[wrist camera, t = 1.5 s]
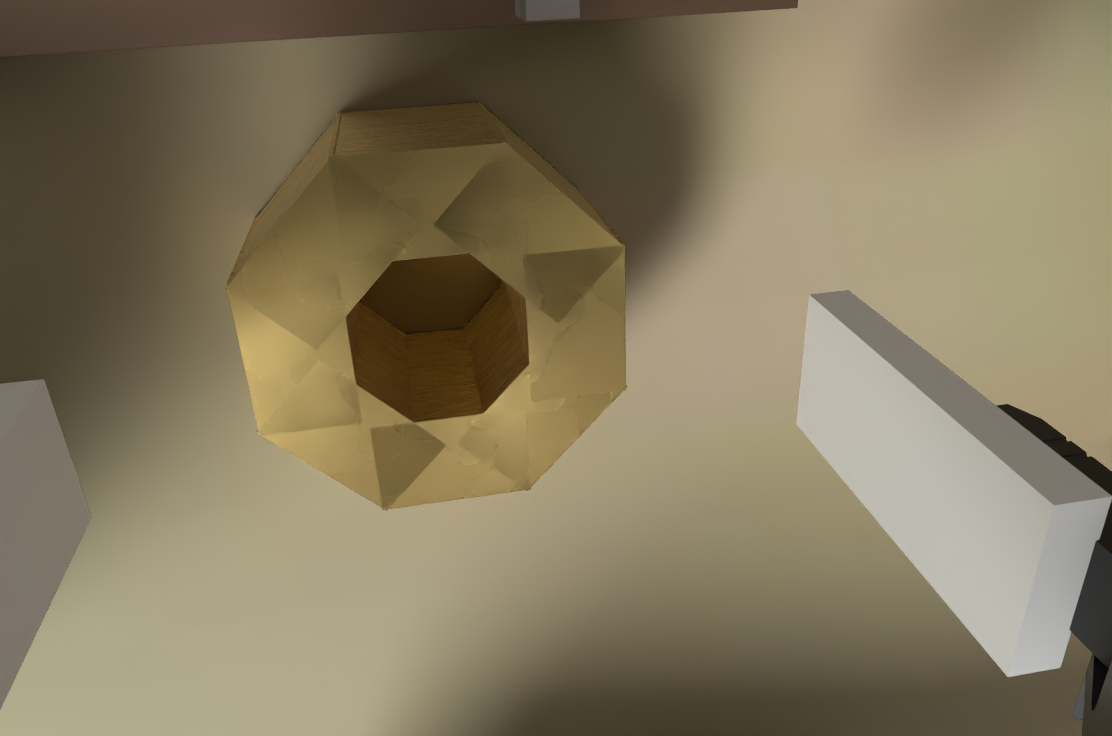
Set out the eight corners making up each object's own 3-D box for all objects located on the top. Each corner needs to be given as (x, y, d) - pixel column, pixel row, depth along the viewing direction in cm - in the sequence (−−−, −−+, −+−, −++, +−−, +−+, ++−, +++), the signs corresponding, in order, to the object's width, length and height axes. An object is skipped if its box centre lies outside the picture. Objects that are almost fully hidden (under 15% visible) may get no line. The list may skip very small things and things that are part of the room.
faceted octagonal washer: (584, 385, 26) (627, 477, 21) (294, 421, 25) (277, 526, 20) (575, 93, 22) (625, 131, 18) (234, 118, 21) (198, 165, 17)
